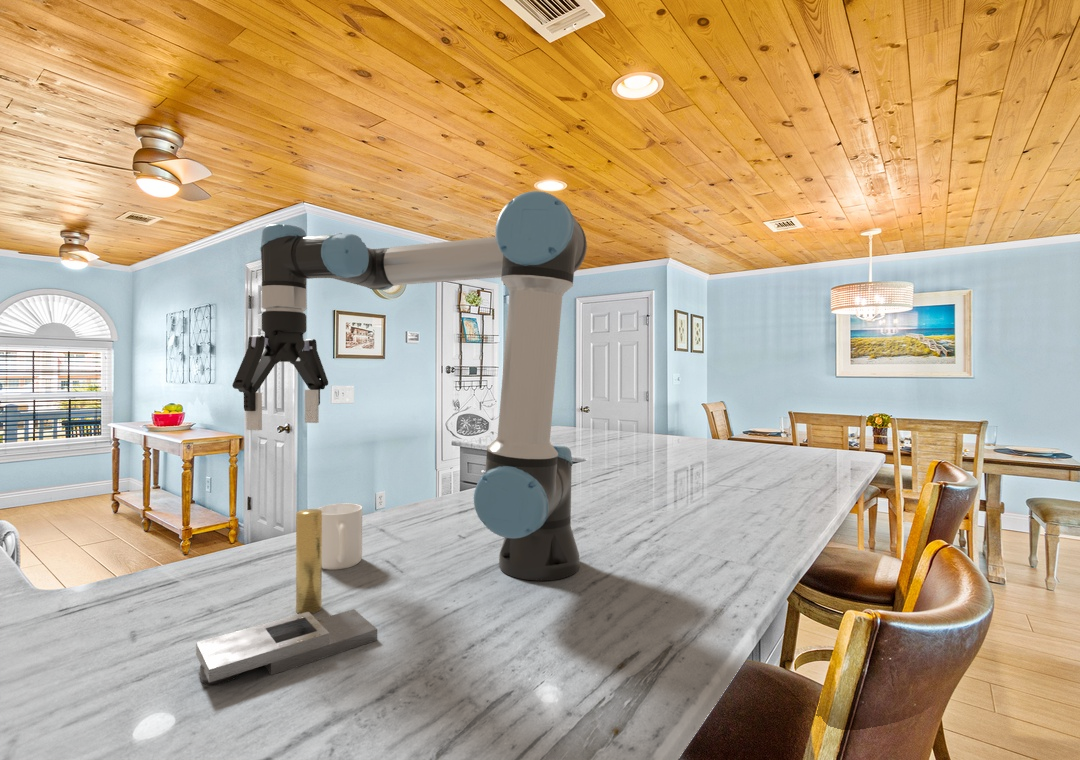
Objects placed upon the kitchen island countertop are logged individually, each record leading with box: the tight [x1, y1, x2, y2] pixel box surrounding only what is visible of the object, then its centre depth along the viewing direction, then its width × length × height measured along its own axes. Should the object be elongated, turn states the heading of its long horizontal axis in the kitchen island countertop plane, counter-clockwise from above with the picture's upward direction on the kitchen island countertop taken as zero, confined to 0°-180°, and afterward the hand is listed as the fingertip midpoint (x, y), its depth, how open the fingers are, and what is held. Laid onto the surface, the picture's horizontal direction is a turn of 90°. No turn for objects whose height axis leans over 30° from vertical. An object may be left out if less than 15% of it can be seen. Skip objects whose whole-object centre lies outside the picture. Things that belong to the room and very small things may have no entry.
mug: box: [317, 502, 363, 571], centre depth 103 cm, size 12×8×10 cm
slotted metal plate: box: [195, 608, 378, 686], centre depth 72 cm, size 20×8×3 cm, turn 131°
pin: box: [295, 508, 323, 615], centre depth 84 cm, size 4×4×15 cm
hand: (284, 426), depth 102 cm, fingers open, 13 cm apart
